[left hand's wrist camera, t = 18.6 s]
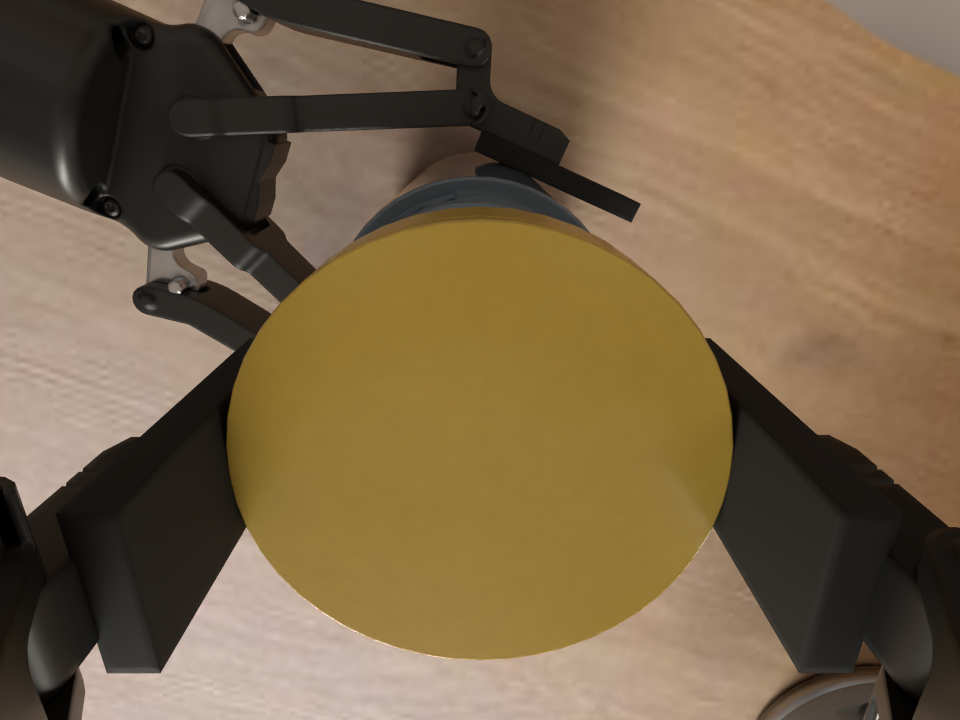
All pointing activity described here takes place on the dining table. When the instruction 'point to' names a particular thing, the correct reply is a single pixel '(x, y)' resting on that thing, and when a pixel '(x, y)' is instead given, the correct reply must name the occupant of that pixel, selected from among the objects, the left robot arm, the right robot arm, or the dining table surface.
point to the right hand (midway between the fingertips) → (575, 309)
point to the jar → (470, 191)
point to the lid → (479, 435)
